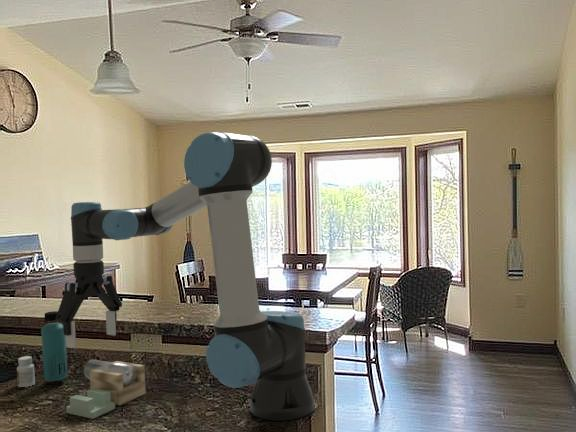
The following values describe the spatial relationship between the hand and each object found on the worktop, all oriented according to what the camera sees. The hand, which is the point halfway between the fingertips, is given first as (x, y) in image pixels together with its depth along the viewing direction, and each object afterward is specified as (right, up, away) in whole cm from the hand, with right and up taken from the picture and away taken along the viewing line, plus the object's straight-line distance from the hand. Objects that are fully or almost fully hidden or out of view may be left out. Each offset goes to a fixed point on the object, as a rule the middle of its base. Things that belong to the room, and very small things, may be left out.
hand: (91, 340), depth 154 cm
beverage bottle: (-13, -14, +9) cm, 21 cm away
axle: (+6, -8, -3) cm, 10 cm away
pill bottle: (-21, -14, +8) cm, 27 cm away
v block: (+3, -14, -12) cm, 19 cm away
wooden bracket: (+8, -14, -4) cm, 16 cm away
